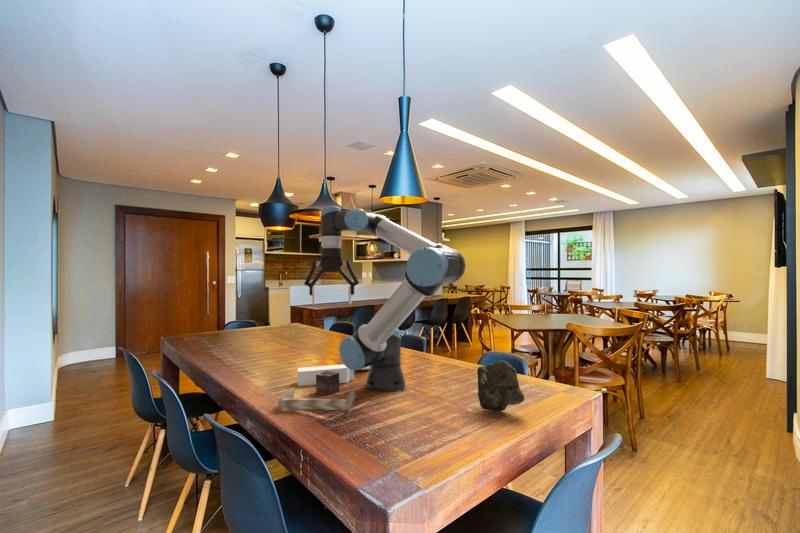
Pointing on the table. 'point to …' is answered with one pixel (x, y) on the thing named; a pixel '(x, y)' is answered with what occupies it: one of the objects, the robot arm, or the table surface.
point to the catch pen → (314, 403)
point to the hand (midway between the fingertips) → (332, 304)
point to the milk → (309, 373)
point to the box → (327, 382)
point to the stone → (498, 386)
